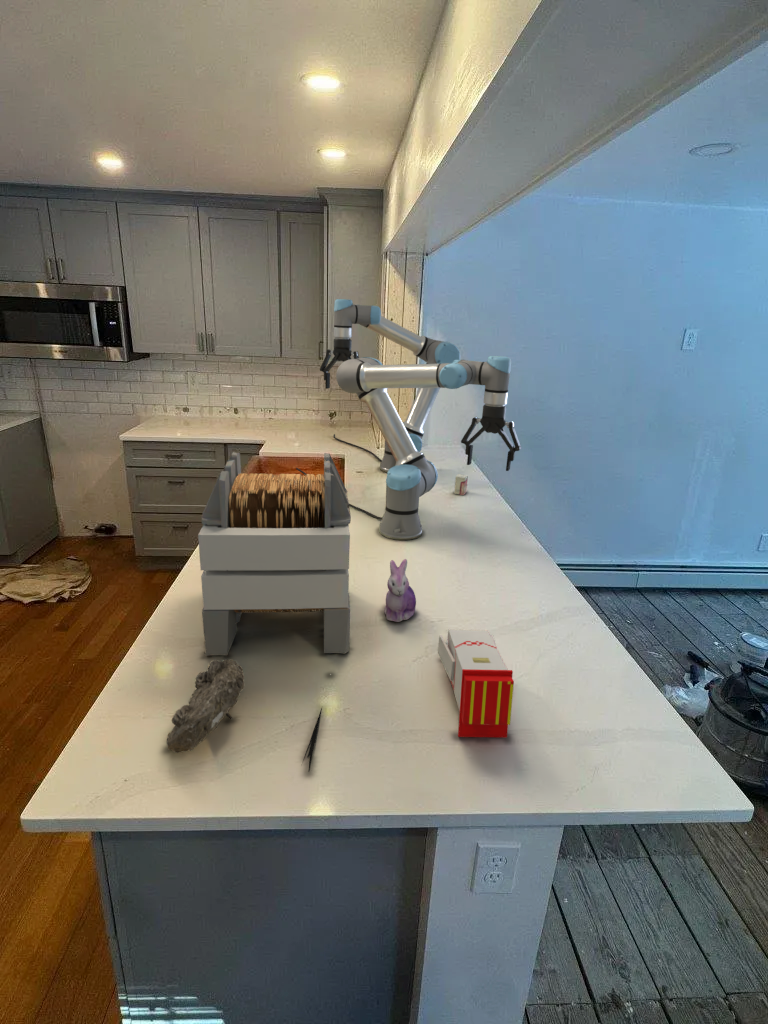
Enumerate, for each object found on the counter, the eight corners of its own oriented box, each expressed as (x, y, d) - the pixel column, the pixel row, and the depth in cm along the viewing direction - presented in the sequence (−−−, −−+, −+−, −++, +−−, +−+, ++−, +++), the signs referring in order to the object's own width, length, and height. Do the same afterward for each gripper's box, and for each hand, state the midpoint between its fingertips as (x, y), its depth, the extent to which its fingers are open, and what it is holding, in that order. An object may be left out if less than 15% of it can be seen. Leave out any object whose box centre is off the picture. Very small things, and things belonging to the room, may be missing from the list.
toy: (488, 613, 130) (523, 677, 101) (484, 667, 133) (517, 744, 104) (435, 612, 130) (455, 676, 101) (432, 666, 133) (451, 743, 103)
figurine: (392, 627, 141) (395, 572, 136) (374, 608, 149) (376, 556, 144) (425, 619, 145) (429, 566, 140) (405, 601, 154) (408, 550, 149)
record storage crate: (226, 586, 157) (217, 442, 143) (344, 585, 161) (346, 445, 147) (202, 658, 125) (189, 482, 112) (350, 654, 129) (354, 483, 115)
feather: (331, 679, 122) (336, 673, 122) (307, 777, 96) (313, 769, 95) (324, 675, 122) (329, 669, 121) (298, 772, 95) (304, 764, 95)
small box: (463, 495, 245) (465, 477, 242) (454, 493, 246) (455, 476, 244) (466, 492, 249) (468, 475, 247) (457, 490, 251) (458, 473, 248)
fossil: (192, 660, 117) (244, 628, 112) (224, 691, 120) (276, 661, 115) (142, 746, 98) (202, 712, 93) (182, 779, 101) (242, 748, 96)
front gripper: (535, 407, 185) (526, 470, 193) (462, 399, 195) (456, 459, 202) (530, 410, 179) (522, 475, 186) (455, 402, 189) (450, 464, 196)
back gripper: (373, 339, 237) (371, 391, 244) (320, 336, 245) (320, 386, 252) (366, 340, 230) (364, 393, 237) (312, 336, 238) (312, 388, 246)
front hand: (488, 467), depth 194 cm, fingers open, 13 cm apart
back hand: (341, 389), depth 245 cm, fingers open, 13 cm apart
